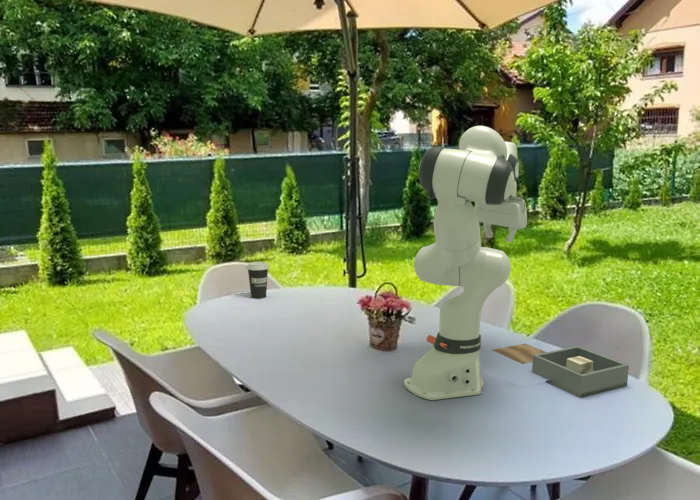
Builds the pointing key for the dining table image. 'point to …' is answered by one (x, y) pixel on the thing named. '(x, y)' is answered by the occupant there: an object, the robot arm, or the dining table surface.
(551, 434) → the dining table surface
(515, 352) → the walnut board
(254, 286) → the coffee cup
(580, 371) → the cream block
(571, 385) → the bin
